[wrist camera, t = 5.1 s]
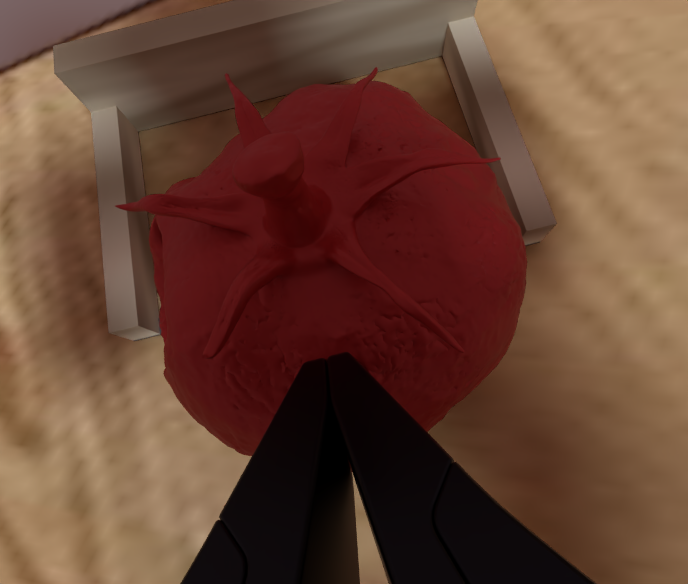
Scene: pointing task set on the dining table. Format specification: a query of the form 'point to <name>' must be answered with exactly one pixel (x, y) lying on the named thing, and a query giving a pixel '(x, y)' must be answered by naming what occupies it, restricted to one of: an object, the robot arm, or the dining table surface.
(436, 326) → the pomegranate
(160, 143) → the dining table surface
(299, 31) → the cradle
